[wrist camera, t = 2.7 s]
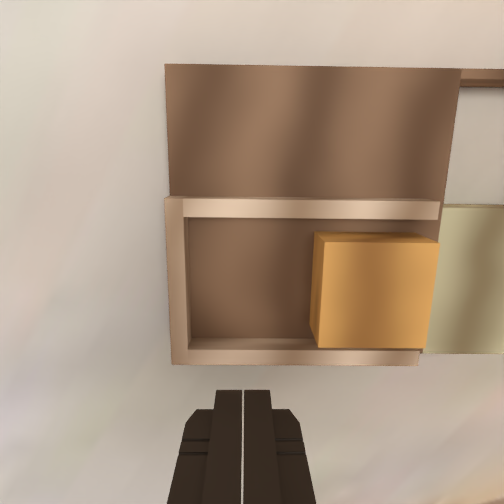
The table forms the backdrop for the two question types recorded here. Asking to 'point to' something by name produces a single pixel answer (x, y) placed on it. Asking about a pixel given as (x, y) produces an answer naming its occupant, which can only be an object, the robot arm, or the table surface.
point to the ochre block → (372, 289)
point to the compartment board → (316, 206)
